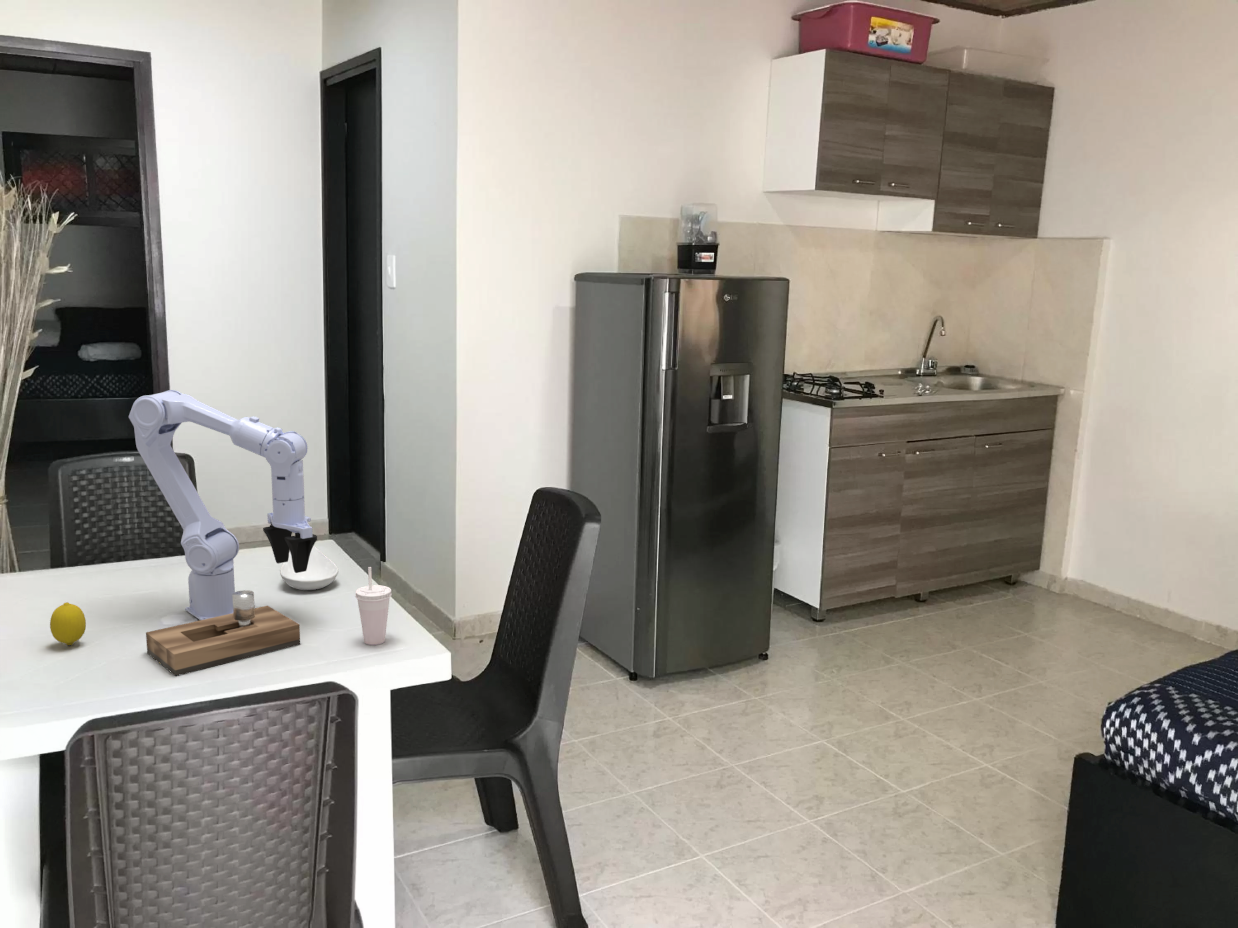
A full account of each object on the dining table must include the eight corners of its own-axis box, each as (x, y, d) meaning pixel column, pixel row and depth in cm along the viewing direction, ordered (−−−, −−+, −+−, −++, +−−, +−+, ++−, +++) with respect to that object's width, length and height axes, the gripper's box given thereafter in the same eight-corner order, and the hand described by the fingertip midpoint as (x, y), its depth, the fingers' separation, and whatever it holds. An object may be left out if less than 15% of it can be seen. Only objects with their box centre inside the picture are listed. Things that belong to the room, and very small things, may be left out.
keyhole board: (147, 652, 178) (145, 632, 177) (268, 624, 192) (267, 605, 192) (175, 675, 168) (174, 654, 168) (300, 644, 183) (299, 624, 182)
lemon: (72, 652, 177) (68, 609, 175) (44, 649, 178) (40, 606, 176) (94, 641, 182) (91, 598, 180) (67, 638, 183) (63, 596, 182)
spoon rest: (344, 592, 213) (343, 559, 211) (285, 599, 208) (284, 565, 206) (322, 561, 233) (321, 531, 232) (268, 566, 228) (267, 536, 227)
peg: (226, 637, 183) (224, 592, 181) (253, 631, 186) (251, 587, 184) (237, 645, 179) (234, 599, 178) (263, 638, 183) (261, 594, 181)
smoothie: (359, 634, 189) (357, 562, 186) (394, 634, 189) (393, 562, 186) (353, 647, 182) (351, 572, 180) (390, 647, 183) (388, 572, 180)
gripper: (326, 501, 189) (328, 571, 191) (290, 487, 199) (293, 554, 202) (290, 507, 184) (293, 579, 187) (255, 492, 194) (259, 561, 197)
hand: (291, 566), depth 194 cm, fingers open, 7 cm apart
